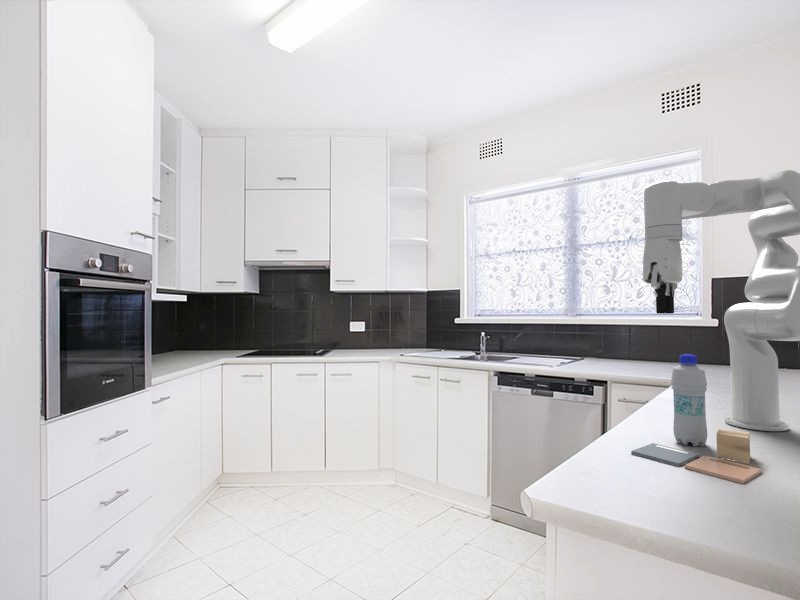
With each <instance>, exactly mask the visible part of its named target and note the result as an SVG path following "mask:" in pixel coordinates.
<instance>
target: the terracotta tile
mask: <svg viewBox="0 0 800 600" xmlns="http://www.w3.org/2000/svg"><path fill="white" fill-rule="evenodd" d="M686 468H687V469H686ZM684 469H686V470H691V471H694V472H698V473H701V474H706V475H709V476H713V477H715V478H716V477H717V478H719V479H720V478H721V479H724V480H728V481H731V482H735V483H739V484H745V483H747V482H748V481H750V480H752V479H753V478H755V477H756V476H758V475H759V474H761V473H762V472H763V471H762V468H759V467H756V466H750V465H748V464H747V465H746V464H744V463H743V464H742V463H739V462H735V461H731V460H725V459H720V458H716V457H712V456H708V455H703V456H700V457H699V458H697V459H694V460H692V461H690V462H688V463H686V464H684Z"/></svg>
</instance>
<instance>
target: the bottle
mask: <svg viewBox="0 0 800 600" xmlns="http://www.w3.org/2000/svg"><path fill="white" fill-rule="evenodd" d="M678 358H679V365H676V366H674V367H672V373H671V380H670V383H671V389H672V390H673V394H672V395H673V427H672V428H673V430H672V431H673V436H674V439H675V441H676V443H677V442H678V443H679V444H683V445H685V446H688V445H689V442H691V443H692V446H693V447H695V446H696V447H698V446H699V445H700V446H699V447H703V446H705V445H706V444H707V439H708V426H707V419H706V418H707V417H706V416H707V414H706V411H707V410H706V409H707V408H706V407H707V406H706V392H707V390H708V388H707V387H708V382H707V377H706V371H705V369H704V368H702V367H700V366H698V357H697V356H696V355H695V354H690V353H685V354H680V356H679V357H678Z"/></svg>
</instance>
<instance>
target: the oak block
mask: <svg viewBox="0 0 800 600" xmlns="http://www.w3.org/2000/svg"><path fill="white" fill-rule="evenodd" d="M750 435H751V434H750V432H748V431H740V430H735V429H733V430H732V429H727V428H718V429H717V432H716V457H718V458H717V459H720V458H724V459H723V460H725V459H730V460H729V461H731V460H735V461H734V462H737V461H739V462H738V463H742V462H743V464H747V465H748V464H750V461H751V443H750V441H751V440H750V439H751V437H750Z"/></svg>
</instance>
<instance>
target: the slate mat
mask: <svg viewBox="0 0 800 600" xmlns="http://www.w3.org/2000/svg"><path fill="white" fill-rule="evenodd" d="M630 451H631V452H630V453H631V455H634V454H635V455H634V456H639V457H642V458H645V459H649V460H652V461H653V460H654V461H656V460H658V461H657V462H660V461H662V462H661V463H664V462H665V463H664V464H668V463H669V464H668V465H671V464H673V465H672V466H675V465H676V467H681V466H683V465H682V464H684V463H686V462H688V463H690V462H692V461H694V460H696V459H695V458H697V457H699V458H700V453H696V452H691V451H688V450H683V449H678V448H675V447H670V446H666V445H662V444H658V443H654V442H652V443H649V444H647V445H644V446H641V447H638V448H636V449H632V450H630ZM693 459H694V460H693ZM697 459H698V458H697ZM691 460H692V461H691ZM689 461H690V462H689ZM686 464H687V463H686ZM680 465H681V466H680ZM684 465H685V464H684Z"/></svg>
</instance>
